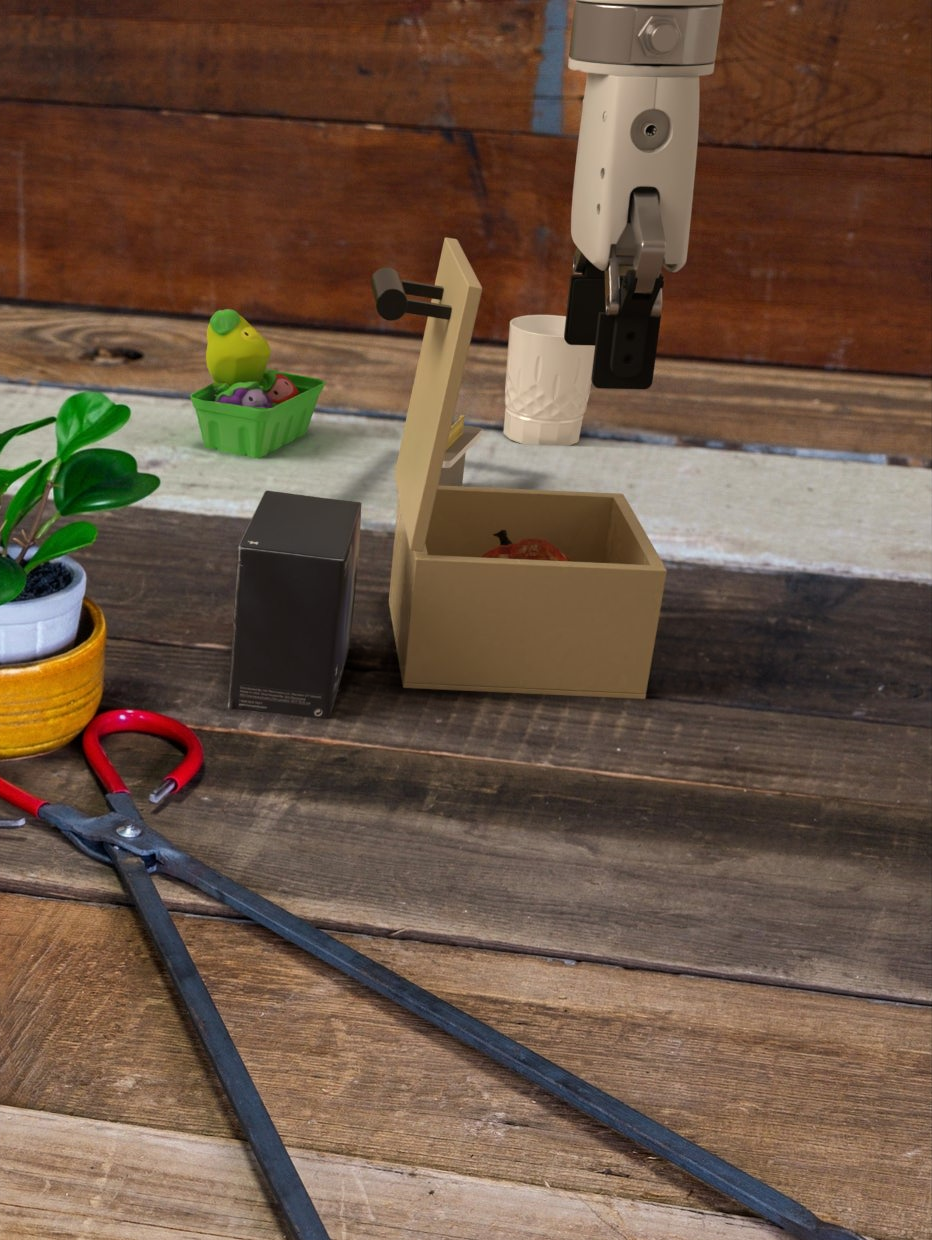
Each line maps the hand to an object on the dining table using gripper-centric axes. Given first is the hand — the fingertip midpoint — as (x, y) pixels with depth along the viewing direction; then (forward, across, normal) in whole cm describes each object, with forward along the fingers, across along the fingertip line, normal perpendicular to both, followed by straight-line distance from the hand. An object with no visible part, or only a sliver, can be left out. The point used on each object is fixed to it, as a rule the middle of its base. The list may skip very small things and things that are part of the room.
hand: (605, 364), depth 96 cm
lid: (+3, +3, +9) cm, 10 cm away
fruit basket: (+19, +45, +20) cm, 53 cm away
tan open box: (+20, +4, +3) cm, 20 cm away
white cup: (+20, +52, -6) cm, 55 cm away
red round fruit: (+19, +3, +3) cm, 20 cm away
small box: (+20, -3, +17) cm, 26 cm away
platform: (+20, +32, +5) cm, 38 cm away
